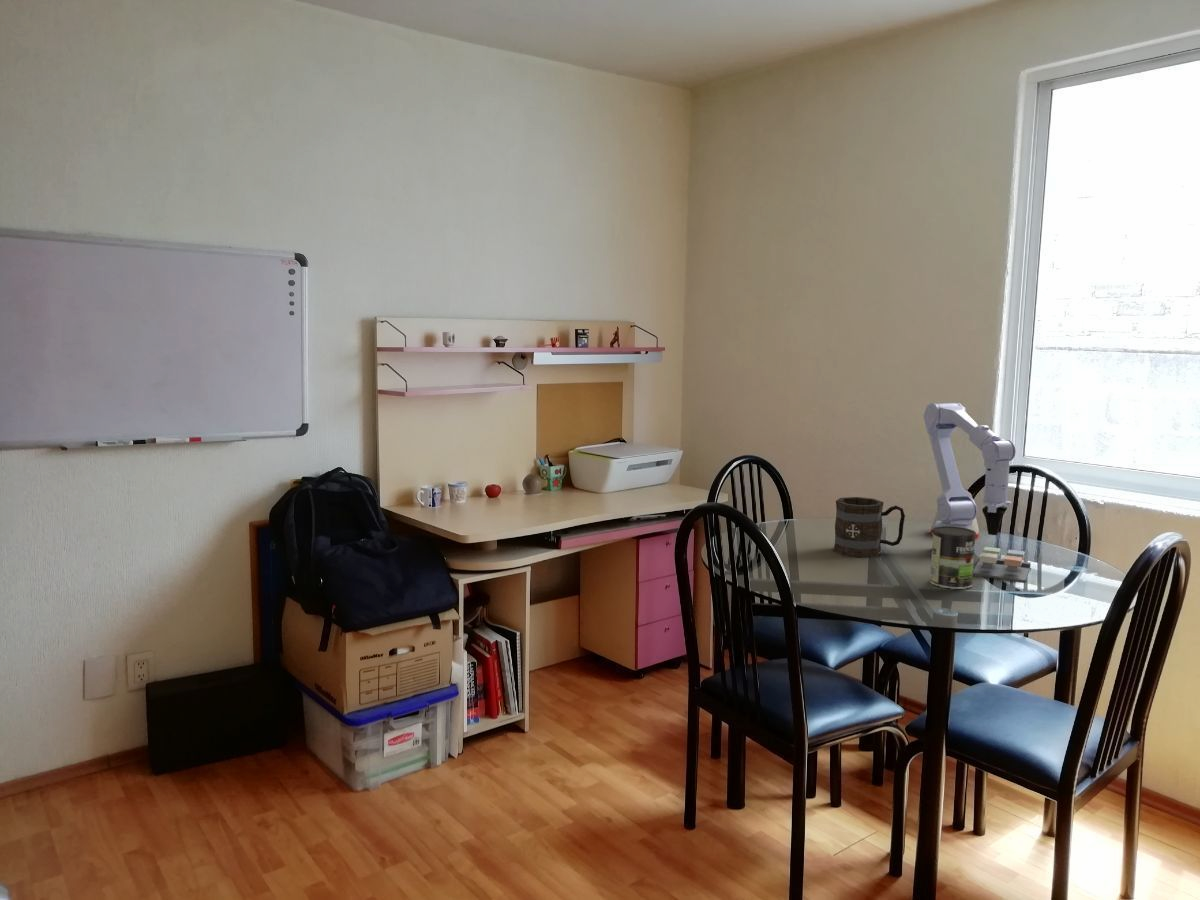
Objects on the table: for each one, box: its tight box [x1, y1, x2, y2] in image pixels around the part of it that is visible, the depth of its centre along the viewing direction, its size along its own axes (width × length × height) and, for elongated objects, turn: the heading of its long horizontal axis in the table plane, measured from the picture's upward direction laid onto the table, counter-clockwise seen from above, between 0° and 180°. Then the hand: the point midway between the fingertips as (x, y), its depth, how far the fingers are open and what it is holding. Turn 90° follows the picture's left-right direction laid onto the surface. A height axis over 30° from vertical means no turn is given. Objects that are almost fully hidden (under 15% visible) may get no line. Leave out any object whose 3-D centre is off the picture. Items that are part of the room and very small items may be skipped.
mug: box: [833, 496, 906, 559], centre depth 262 cm, size 20×14×15 cm
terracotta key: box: [1003, 554, 1023, 572], centre depth 238 cm, size 4×4×3 cm
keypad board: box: [973, 555, 1031, 583], centre depth 243 cm, size 13×15×2 cm
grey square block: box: [1006, 549, 1026, 562], centre depth 244 cm, size 4×4×3 cm
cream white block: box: [982, 546, 1002, 559], centre depth 247 cm, size 4×4×3 cm
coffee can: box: [929, 526, 976, 590], centre depth 231 cm, size 10×10×14 cm
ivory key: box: [978, 552, 999, 568], centre depth 241 cm, size 4×4×3 cm
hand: (993, 533), depth 247 cm, fingers open, 2 cm apart
